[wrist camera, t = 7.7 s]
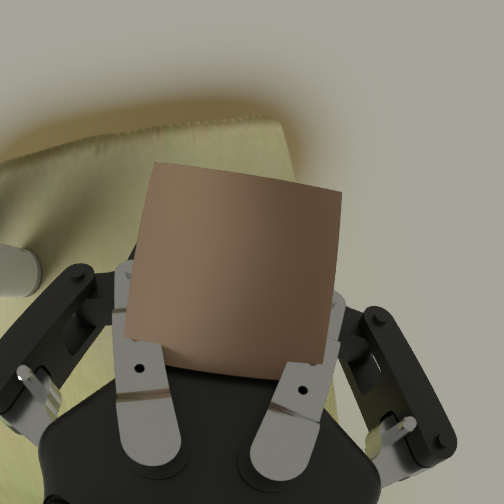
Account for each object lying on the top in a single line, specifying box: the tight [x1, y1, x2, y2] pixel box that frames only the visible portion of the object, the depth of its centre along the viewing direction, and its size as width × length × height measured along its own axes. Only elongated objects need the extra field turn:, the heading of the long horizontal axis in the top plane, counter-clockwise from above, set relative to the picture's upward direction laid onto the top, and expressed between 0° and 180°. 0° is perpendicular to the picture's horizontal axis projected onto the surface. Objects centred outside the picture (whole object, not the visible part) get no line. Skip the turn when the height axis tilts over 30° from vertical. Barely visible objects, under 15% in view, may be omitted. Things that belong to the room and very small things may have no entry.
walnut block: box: [123, 162, 342, 380], centre depth 13 cm, size 5×5×11 cm
